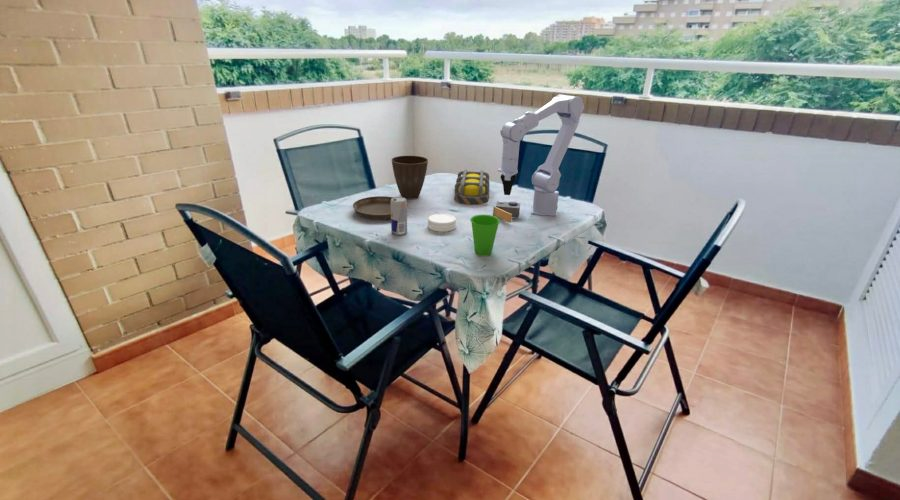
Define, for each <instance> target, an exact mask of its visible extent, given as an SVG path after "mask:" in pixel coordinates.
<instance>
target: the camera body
mask: <svg viewBox="0 0 900 500" xmlns="http://www.w3.org/2000/svg"><path fill="white" fill-rule="evenodd" d="M495 207H497V208H499V209H502V210H504V211H506V212H508V213H510V214H512V219H514V218H515V219H520V209H521V203H520V202H517V201H503V200H501V201H500V200H499V201H496V204H495ZM492 216H495V215H493V214H492ZM495 217H496V216H495Z"/></svg>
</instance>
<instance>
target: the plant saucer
mask: <svg viewBox="0 0 900 500" xmlns="http://www.w3.org/2000/svg"><path fill="white" fill-rule="evenodd" d="M392 198H394V197H393V196H386V195H385V196H383V195H382V196H380V195H379V196H368V197H364V198H360V199H358V200H356V201H355V202H354V203H353V204H352V208H353V210H354V211H355V212H356V213H357V214H358V215H359V216H361V217H363V218H365V219H369V220H375V221H377V220H378V221H379V220H391V204H390V202H391V199H392Z"/></svg>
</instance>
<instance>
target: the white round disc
mask: <svg viewBox="0 0 900 500" xmlns="http://www.w3.org/2000/svg"><path fill="white" fill-rule="evenodd" d="M456 227H457V219H456V217H455V216H453V215H452V214H448V213H435V214H432V215H430V216H428V218H427V228H428V229H429V230H431V231H434V232H437V233H439V232H440V233H445V232H451V231H454V230H455V229H456Z"/></svg>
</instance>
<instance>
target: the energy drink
mask: <svg viewBox="0 0 900 500" xmlns="http://www.w3.org/2000/svg"><path fill="white" fill-rule="evenodd" d="M390 204H391V219H390V225H391V227H390V228H391V233H392V235H395V236H404V235H406V234H407V233H408V203H407V199H406V198H404V197H401V196H395V197H394V198H392V199H391V202H390Z"/></svg>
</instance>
